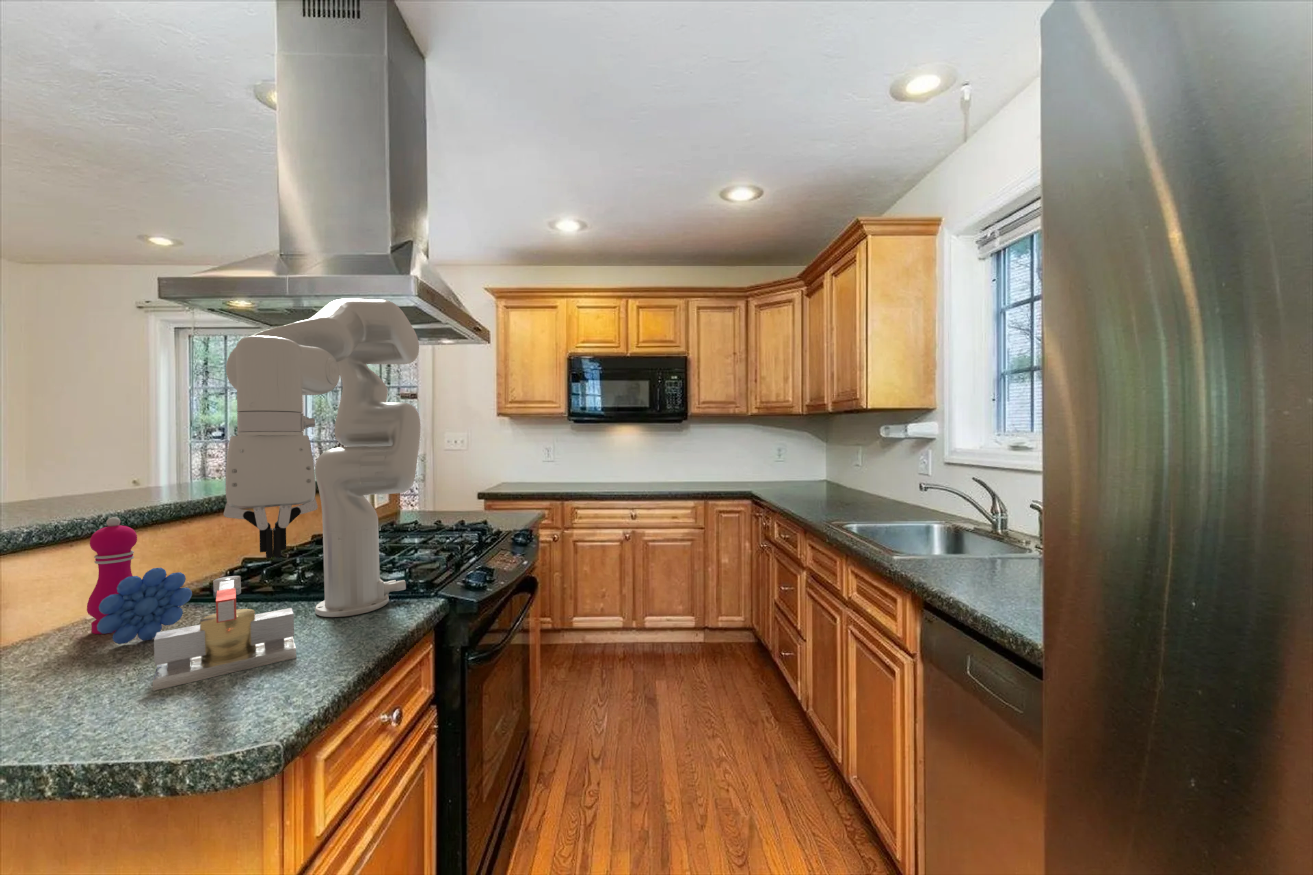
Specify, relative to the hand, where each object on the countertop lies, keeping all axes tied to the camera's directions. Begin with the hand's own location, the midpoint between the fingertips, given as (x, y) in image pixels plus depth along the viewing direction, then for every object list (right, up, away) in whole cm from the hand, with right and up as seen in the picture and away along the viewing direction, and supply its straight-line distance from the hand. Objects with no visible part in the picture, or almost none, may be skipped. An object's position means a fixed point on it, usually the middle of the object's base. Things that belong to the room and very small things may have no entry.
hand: (273, 556), depth 75 cm
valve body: (-10, -17, +5) cm, 21 cm away
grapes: (-33, -18, +16) cm, 40 cm away
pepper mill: (-43, -18, +21) cm, 51 cm away
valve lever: (-7, -7, 0) cm, 10 cm away
